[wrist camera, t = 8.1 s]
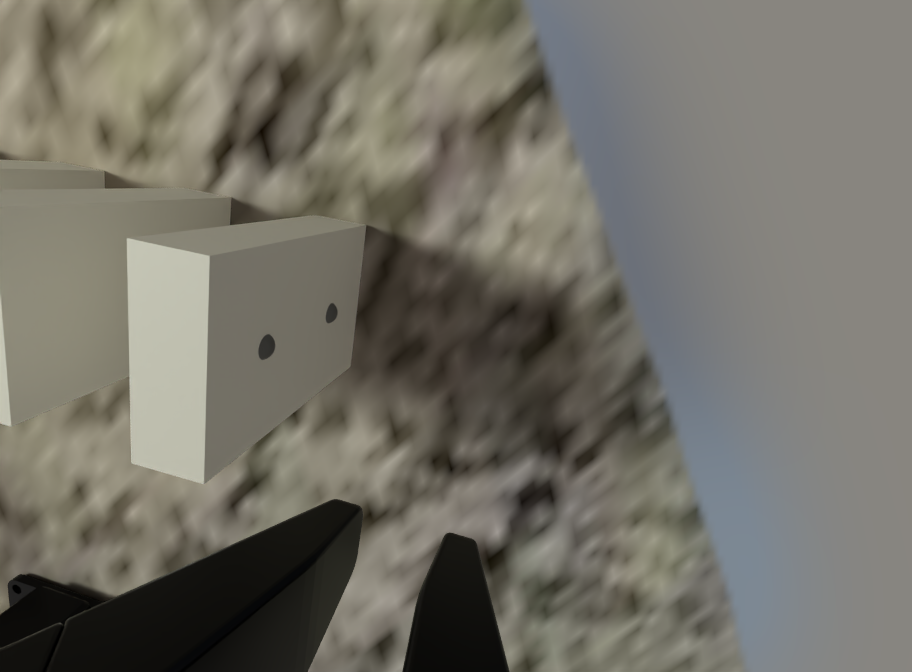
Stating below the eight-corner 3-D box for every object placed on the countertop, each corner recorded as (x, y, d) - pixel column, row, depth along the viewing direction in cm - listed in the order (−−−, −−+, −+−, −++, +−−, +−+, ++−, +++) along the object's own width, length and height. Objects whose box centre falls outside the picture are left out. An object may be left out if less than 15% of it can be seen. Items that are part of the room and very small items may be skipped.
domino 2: (229, 336, 20) (18, 428, 13) (181, 324, 20) (-53, 407, 13) (236, 198, 19) (1, 209, 11) (184, 187, 19) (-79, 190, 11)
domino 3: (356, 368, 19) (212, 486, 12) (303, 355, 20) (131, 463, 12) (372, 225, 18) (219, 258, 10) (315, 214, 18) (126, 238, 11)
